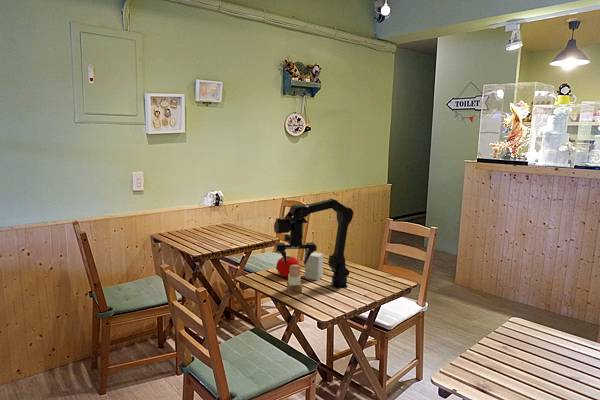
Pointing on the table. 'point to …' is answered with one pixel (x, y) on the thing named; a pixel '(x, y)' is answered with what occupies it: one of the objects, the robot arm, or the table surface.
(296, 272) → the brown rounded lump
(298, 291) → the walnut base block
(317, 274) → the supplement box
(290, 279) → the cream block
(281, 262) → the tomato
